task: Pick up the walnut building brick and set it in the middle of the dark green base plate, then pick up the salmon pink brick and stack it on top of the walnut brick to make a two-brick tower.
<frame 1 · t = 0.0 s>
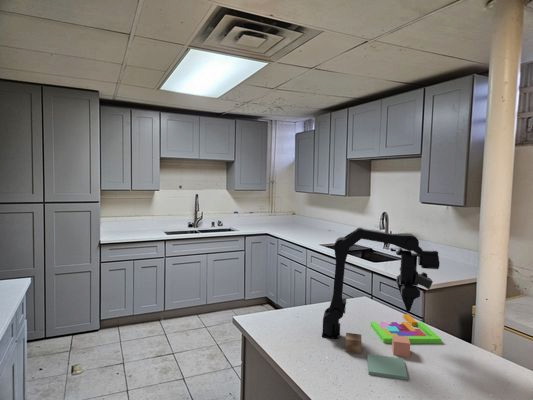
hand: (406, 307, 137), 15 cm above the counter, tool pointing down, fingers open, 9 cm apart
salmon pink brick: (400, 352, 132), on the counter
base plate: (386, 367, 121), on the counter
green block puzzle board: (399, 331, 152), on the counter
walnut brick: (353, 349, 133), on the counter
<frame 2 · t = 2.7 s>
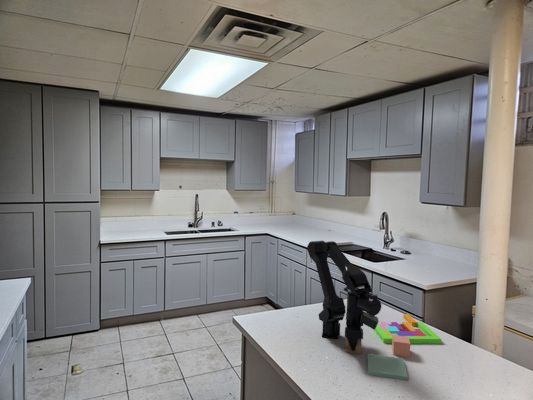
hand: (353, 346, 133), 1 cm above the counter, tool pointing down, fingers closed on walnut brick, 6 cm apart
walnut brick: (353, 349, 133), on the counter, touching gripper
everything else where it was.
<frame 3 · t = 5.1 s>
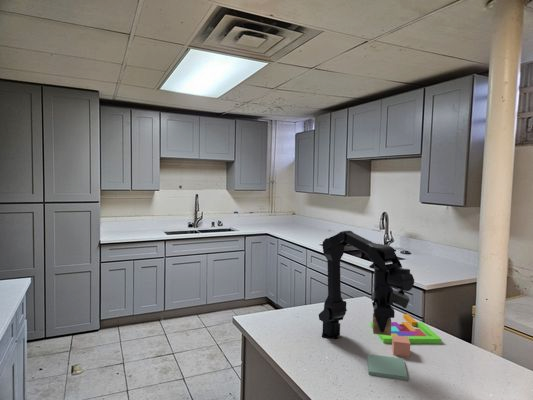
hand: (381, 328, 122), 13 cm above the counter, tool pointing down, fingers closed on walnut brick, 6 cm apart
walnut brick: (381, 331, 122), point 12 cm above the counter, touching gripper
everything else where it was.
when the fingers open (3 cm above the counter, at t = 7.4 s): walnut brick drops 1 cm, resting on base plate.
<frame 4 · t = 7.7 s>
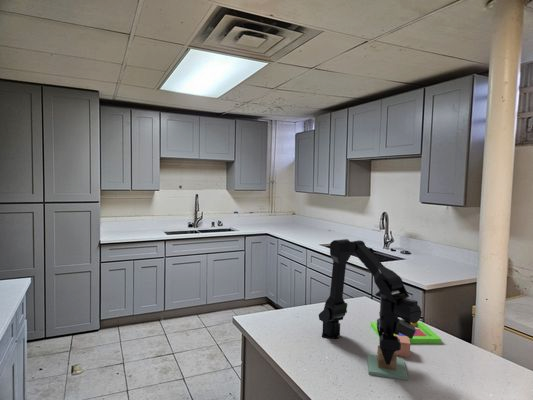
hand: (386, 357, 121), 3 cm above the counter, tool pointing down, fingers open, 9 cm apart
walnut brick: (386, 364, 121), point 1 cm above the counter, touching base plate
everything else where it was.
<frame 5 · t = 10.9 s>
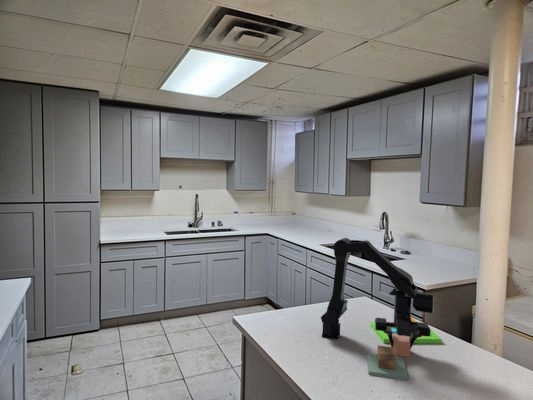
hand: (400, 349, 132), 1 cm above the counter, tool pointing down, fingers closed on salmon pink brick, 6 cm apart
salmon pink brick: (400, 351, 132), on the counter, touching gripper
everything else where it was.
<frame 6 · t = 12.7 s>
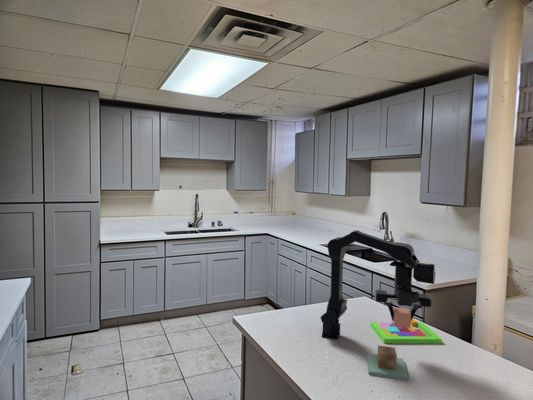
hand: (401, 321, 131), 12 cm above the counter, tool pointing down, fingers closed on salmon pink brick, 6 cm apart
salmon pink brick: (401, 324, 131), point 11 cm above the counter, touching gripper
everything else where it was.
when the fingers open (8 cm above the counter, at t = 14.8 s): salmon pink brick stays where it is, resting on walnut brick.
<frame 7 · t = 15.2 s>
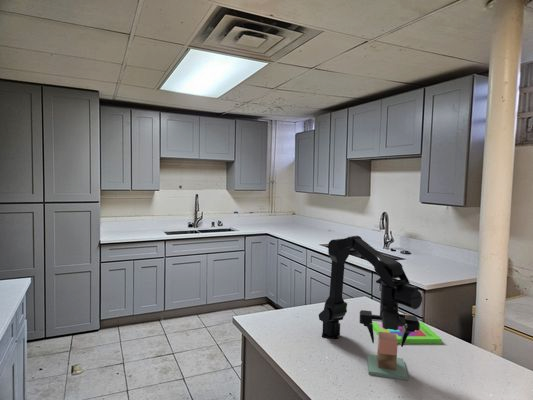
hand: (387, 344, 121), 8 cm above the counter, tool pointing down, fingers open, 9 cm apart
salmon pink brick: (387, 350, 121), point 6 cm above the counter, touching walnut brick
walnut brick: (386, 364, 121), point 1 cm above the counter, touching base plate, salmon pink brick
everything else where it was.
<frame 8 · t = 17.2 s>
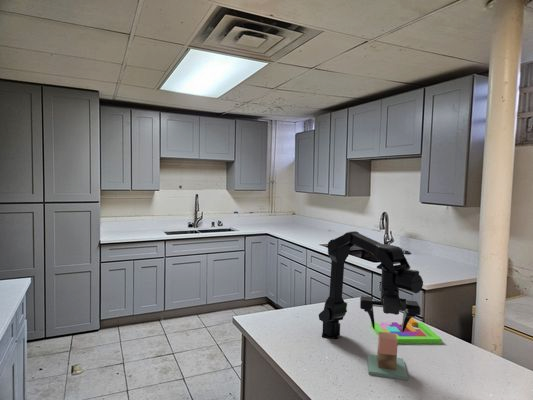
hand: (388, 330, 120), 13 cm above the counter, tool pointing down, fingers open, 9 cm apart
nothing on the counter moved.
at the end: walnut brick 0.0 cm off-centre on the base plate, point 1.0 cm above the base plate's base; salmon pink brick 0.0 cm off-centre on the walnut brick, point 5.0 cm above the walnut brick's base; salmon pink brick tilted 0° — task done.
